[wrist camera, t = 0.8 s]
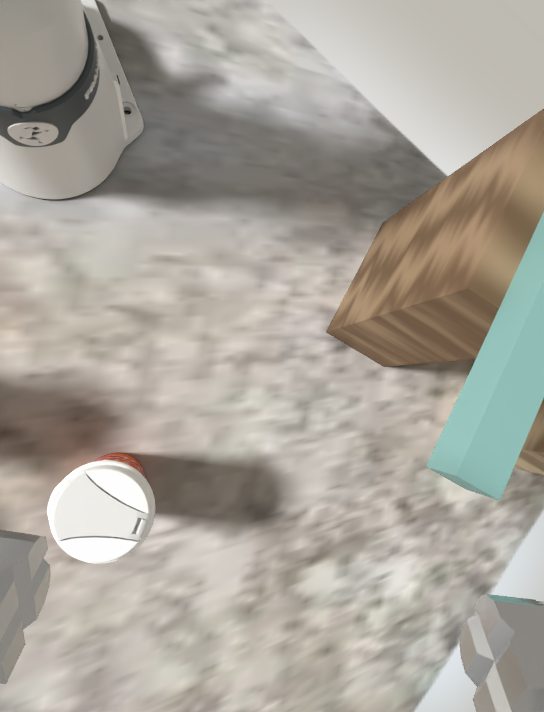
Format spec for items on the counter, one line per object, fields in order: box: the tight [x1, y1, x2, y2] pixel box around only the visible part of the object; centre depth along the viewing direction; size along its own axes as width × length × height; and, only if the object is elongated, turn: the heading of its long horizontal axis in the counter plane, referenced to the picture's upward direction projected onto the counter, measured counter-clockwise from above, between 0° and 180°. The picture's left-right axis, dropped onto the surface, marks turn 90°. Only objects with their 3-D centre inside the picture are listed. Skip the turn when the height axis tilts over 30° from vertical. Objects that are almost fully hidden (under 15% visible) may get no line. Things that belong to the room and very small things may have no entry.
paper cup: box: [47, 453, 155, 563], centre depth 43 cm, size 8×8×14 cm
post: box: [326, 109, 544, 366], centre depth 45 cm, size 15×8×26 cm, turn 151°
